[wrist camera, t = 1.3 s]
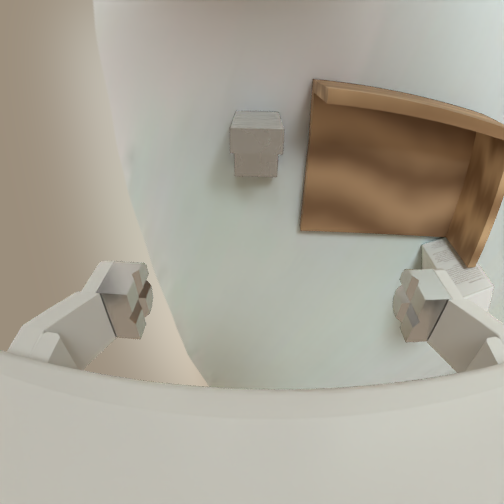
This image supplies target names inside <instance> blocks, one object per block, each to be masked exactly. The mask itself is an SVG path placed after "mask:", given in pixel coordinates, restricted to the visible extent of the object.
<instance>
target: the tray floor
mask: <svg viewBox="0 0 504 504" xmlns="http://www.w3.org/2000/svg"><path fill="white" fill-rule="evenodd" d="M315 80H318V79H313V86H312V100H311V114H310V126H309V138H308V150H307V160H306V171H305V181H304V191H303V200H302V210H301V219H300V230H301V231H328V232H353V233H375V234H396V235H415V236H433V237H446V235H447V233H448V230H449V227H450V224H451V221H452V219H453V216H454V213H455V210H456V207H457V203H458V200H459V197H460V194H461V191H462V187H463V184H464V180H465V177H466V173H467V170H468V166H469V162H470V158H471V154H472V150H473V146H474V141H475V137H476V132H475V131H472V130H468V129H465V128H461V127H457V126H453V125H449V124H445V123H441V122H437V121H432V120H428V119H423V118H419V117H414V116H409V115H403V114H398V113H392V112H387V111H381V110H374V109H367V108H360V107H353V106H345V105H336V104H327V103H326V102H325V101H324V100H322V99H321V98H320V97H319V96H318V95H316V94H315V93H314V83H315ZM320 81H327V80H320ZM329 82H336V81H329ZM337 83H344V82H337ZM345 84H351V83H345ZM353 85H358V84H353ZM359 86H365V85H359ZM366 87H371V86H366ZM372 88H377V87H372ZM378 89H382V88H378ZM383 90H388V89H383ZM389 91H393V90H389ZM394 92H398V91H394ZM399 93H403V92H399ZM404 94H407V93H404ZM408 95H412V94H408ZM413 96H416V95H413ZM417 97H421V96H417ZM422 98H425V97H422ZM426 99H429V98H426ZM430 100H433V99H430ZM434 101H437V100H434ZM438 102H441V101H438ZM442 103H444V102H442ZM445 104H448V103H445ZM449 105H452V104H449ZM453 106H455V105H453ZM456 107H459V106H456ZM459 108H462V107H459ZM463 109H465V108H463ZM466 110H469V109H466ZM469 111H472V110H469ZM473 112H475V111H473ZM476 113H478V112H476ZM479 114H481V113H479ZM482 115H484V114H482ZM485 116H486V115H485Z"/></svg>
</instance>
